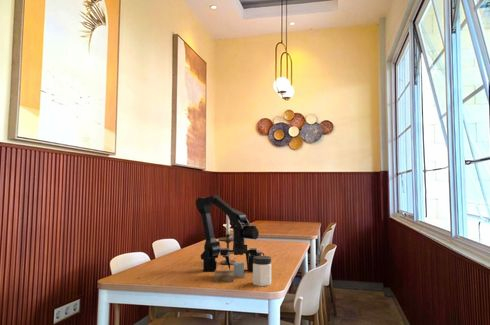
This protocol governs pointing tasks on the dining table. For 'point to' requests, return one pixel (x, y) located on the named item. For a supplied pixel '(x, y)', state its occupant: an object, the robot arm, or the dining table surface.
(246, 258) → the coffee mug
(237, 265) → the block
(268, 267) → the jar
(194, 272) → the dining table surface
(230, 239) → the candlestick
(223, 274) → the base
